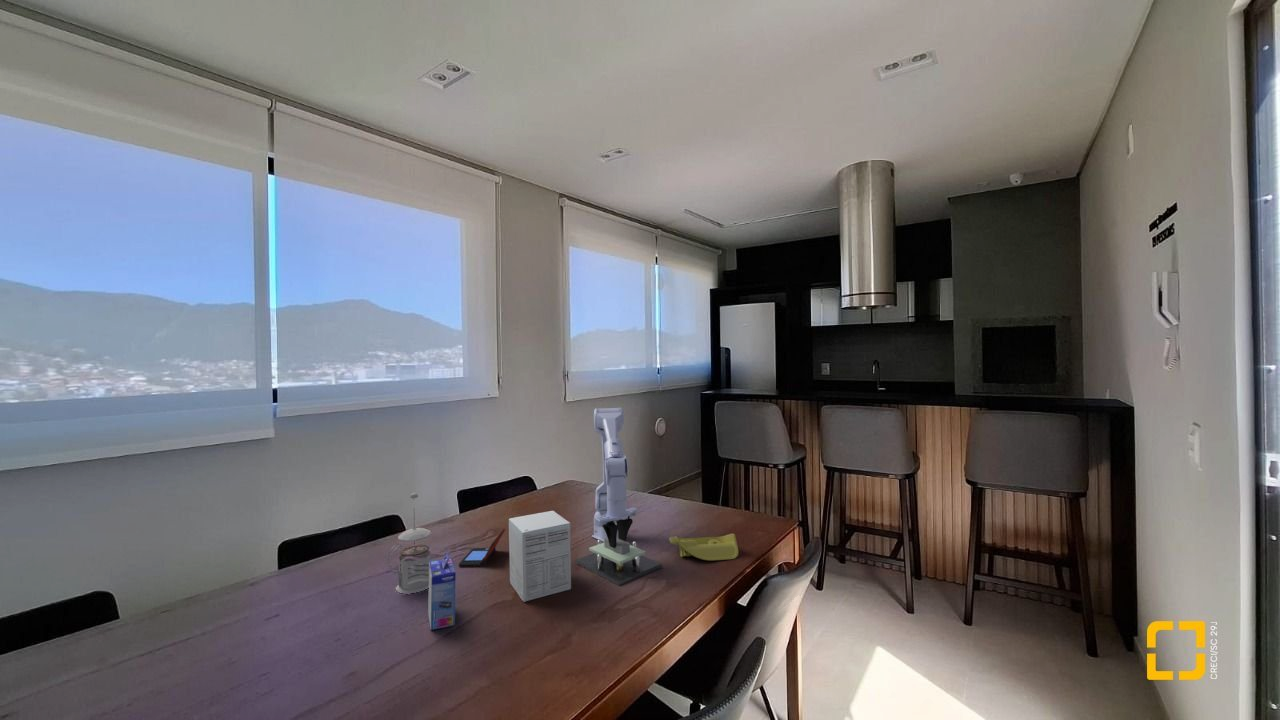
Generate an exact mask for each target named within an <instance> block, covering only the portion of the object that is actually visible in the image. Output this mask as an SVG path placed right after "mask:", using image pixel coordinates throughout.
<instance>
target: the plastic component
mask: <svg viewBox="0 0 1280 720" xmlns="http://www.w3.org/2000/svg"><path fill="white" fill-rule="evenodd" d="M668 540H669V542H670V543H671V544H672V545H673V546H674V545H676V546H678V547H679V556H680V557H681V558H684V557H683V556H687V557H692V556H693V557H695V558H697V559H699V560H703V561H724V560H726V561H727V560H734V559H736V558H737V557H739V547H738V542H737V538H736V534H735V533H729V534H726V535H723V536H722V535H721V536H708V537H707V536H706V537H687V538H685V537H684V538H679V537H678V536H676V535H675V536H670V537H669V539H668Z"/></svg>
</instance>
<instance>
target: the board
mask: <svg viewBox="0 0 1280 720" xmlns="http://www.w3.org/2000/svg"><path fill="white" fill-rule="evenodd" d="M588 551H590V552H591V553H592V554H593V553H596V554H601V556H602V557H604V558H606V559H609V560H611V561H613V562H615V563H617V564H622V563H625V562H627V561H630V560H632V559H635V558H636V556H639V557H640V556H645V555H646V554H647V551H646V550H644V549H641V548H638V547H637V546H636V547H634V546H633V545H631V544H630V542H628V541H626V542H625V541H623V540H620V539H618V538H616V548H613V547H610V545H609V541H608V538H605V539H604V542H601V544H599V545H598V544H596V545H593V546H591V547H589V548H588Z"/></svg>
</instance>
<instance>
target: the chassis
mask: <svg viewBox="0 0 1280 720" xmlns="http://www.w3.org/2000/svg"><path fill="white" fill-rule="evenodd" d="M601 543H602V541H601V540H598V539H597V545H599V544H601ZM632 546H634V547H636V548H637V541H635V540H634V541H632ZM576 563H577V564H576ZM575 564H576V565H578V564H579V565H578V566H580V565H581V566H580V567H582V568H584V567H585V568H584V569H586V570H587V571H590V572H591V573H594V574H596V575H597V574H598V576H599V575H600V576H599V577H601V576H602V577H601V578H603V577H604V580H605V579H606V580H607V581H609V582H611V583H613V584H615V585H617V586H621V585H624V584H627V583H628V582H631V581H633V580H635V579H637V578H639V577H640V578H641V577H642V576H644V575H647V574H649V573H651V572H654V571H656V570H658V569H660V568H662V563H660V562H658V561H656V560H654V559H651V558H648V557H646V556H645V555H642V556H640V557H639V556H636V558H635V559H632V560H630V561H627V562H625V563H622V564H617V563H615V562H613V561H611V560H609V559H606V558H604V557H602V556H601V554H596V553H593V552H592V553H591V554H588V555H585V556H583V557H580V558H577V559H575Z"/></svg>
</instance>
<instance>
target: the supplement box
mask: <svg viewBox="0 0 1280 720" xmlns="http://www.w3.org/2000/svg"><path fill="white" fill-rule="evenodd" d="M508 544H509V583H510V584H511V586H512V588H513V589H514V591H515V592H516V593H517V596H519V597H520V599H521V600H522V601H523V602H524V603H525V602H529V601H532V600H536V599H539V598H542V597H546V596H549V595H555V594H557V593H562V592H564V591H565V592H567V591H569V590H571V589H572V571H571V570H572V568H571V567H572V562H571V561H572V560H571V554H572V553H571V522H570V521H568V520H566V519H565V518H564V517H563V516H561V515H560V514H559V513H557V512H556V511H554V510H550V511H549V510H548V511H543V512H538V513H533V514H527V515H521V516H515V517H511V518H509V519H508Z"/></svg>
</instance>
